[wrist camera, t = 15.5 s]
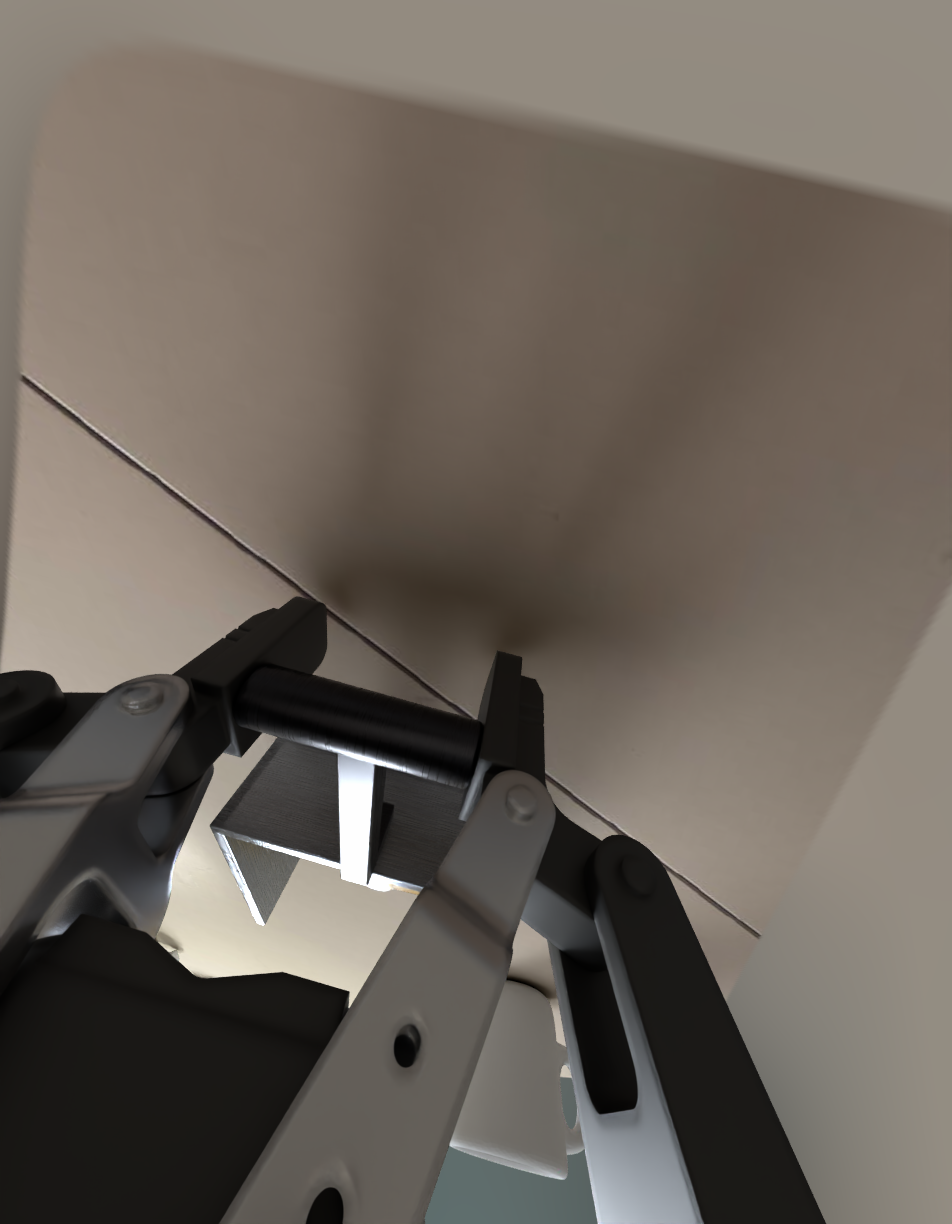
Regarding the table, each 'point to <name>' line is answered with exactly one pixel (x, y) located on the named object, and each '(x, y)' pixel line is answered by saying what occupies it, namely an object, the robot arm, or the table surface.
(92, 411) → the table surface
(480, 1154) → the cup
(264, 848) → the metal dustpan with handle
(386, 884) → the yellow spoon
